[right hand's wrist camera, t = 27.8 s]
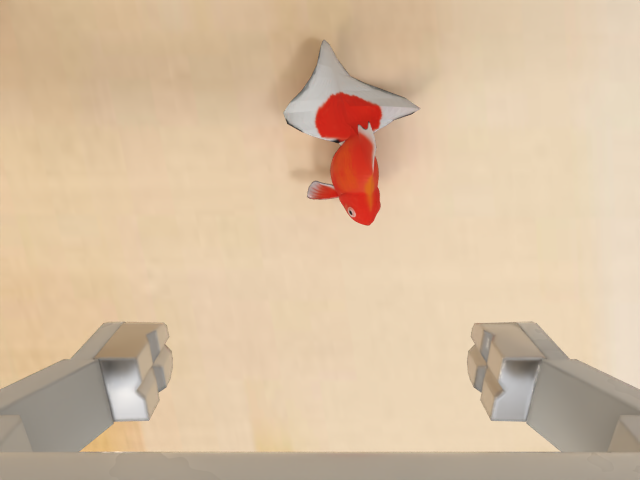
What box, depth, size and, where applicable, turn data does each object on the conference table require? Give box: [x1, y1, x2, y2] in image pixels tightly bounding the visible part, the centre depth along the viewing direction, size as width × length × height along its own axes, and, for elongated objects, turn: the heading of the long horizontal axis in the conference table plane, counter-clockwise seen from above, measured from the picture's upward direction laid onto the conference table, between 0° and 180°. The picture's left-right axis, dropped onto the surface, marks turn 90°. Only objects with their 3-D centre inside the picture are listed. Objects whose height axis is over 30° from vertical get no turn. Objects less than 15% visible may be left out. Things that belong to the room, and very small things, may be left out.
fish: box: [284, 40, 420, 225], centre depth 35 cm, size 11×16×10 cm
